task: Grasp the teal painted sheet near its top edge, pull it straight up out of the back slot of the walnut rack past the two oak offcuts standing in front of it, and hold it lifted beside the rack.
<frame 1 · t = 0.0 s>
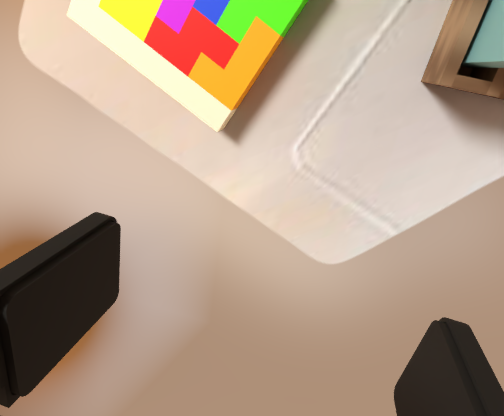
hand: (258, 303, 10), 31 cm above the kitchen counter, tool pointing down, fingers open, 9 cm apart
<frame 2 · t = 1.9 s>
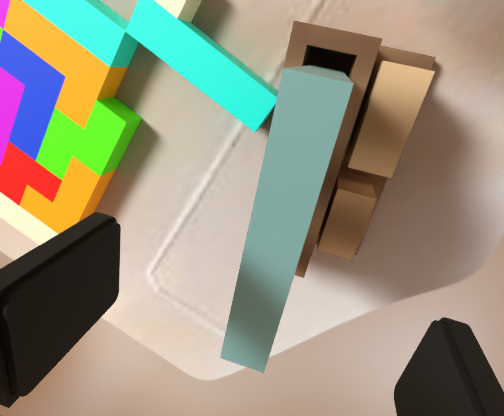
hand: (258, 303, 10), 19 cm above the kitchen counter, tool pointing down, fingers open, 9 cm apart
offcut short: (343, 201, 27), point 1 cm above the kitchen counter, touching rack
puzzle game: (80, 103, 31), on the kitchen counter
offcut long: (376, 109, 24), point 1 cm above the kitchen counter, touching rack
rack: (332, 152, 27), on the kitchen counter
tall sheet: (306, 148, 26), point 1 cm above the kitchen counter, touching rack
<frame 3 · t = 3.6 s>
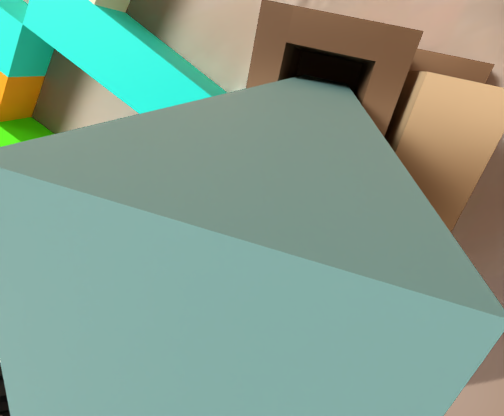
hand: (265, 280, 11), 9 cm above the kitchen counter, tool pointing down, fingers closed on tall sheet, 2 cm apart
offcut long: (397, 142, 16), point 1 cm above the kitchen counter, touching rack
rack: (331, 198, 19), on the kitchen counter
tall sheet: (293, 194, 18), point 1 cm above the kitchen counter, touching gripper
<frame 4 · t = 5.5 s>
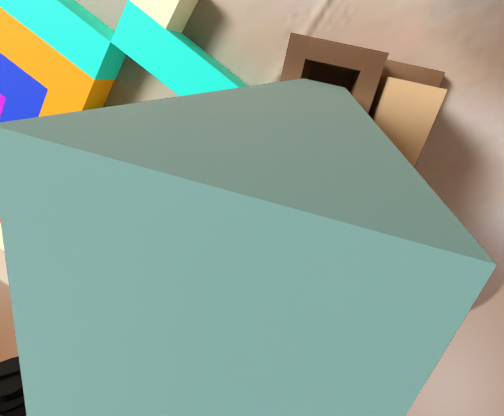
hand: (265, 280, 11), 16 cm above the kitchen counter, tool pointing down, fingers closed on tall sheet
puzzle game: (66, 116, 29), on the kitchen counter
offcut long: (380, 127, 22), point 1 cm above the kitchen counter, touching rack
rack: (333, 171, 25), on the kitchen counter
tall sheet: (293, 197, 18), point 8 cm above the kitchen counter, touching gripper
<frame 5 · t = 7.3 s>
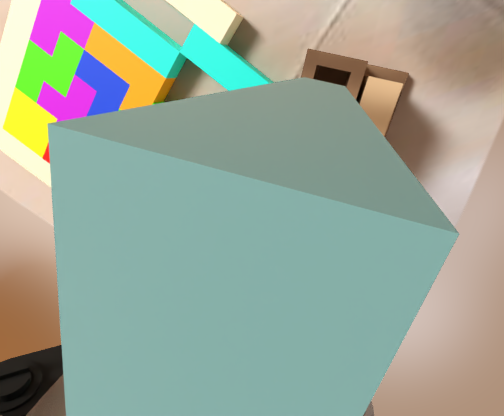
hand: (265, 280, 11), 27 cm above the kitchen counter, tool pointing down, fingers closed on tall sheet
puzzle game: (134, 105, 39), on the kitchen counter
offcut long: (366, 111, 32), point 1 cm above the kitchen counter, touching rack
rack: (333, 143, 35), on the kitchen counter
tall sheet: (294, 194, 18), point 18 cm above the kitchen counter, touching gripper
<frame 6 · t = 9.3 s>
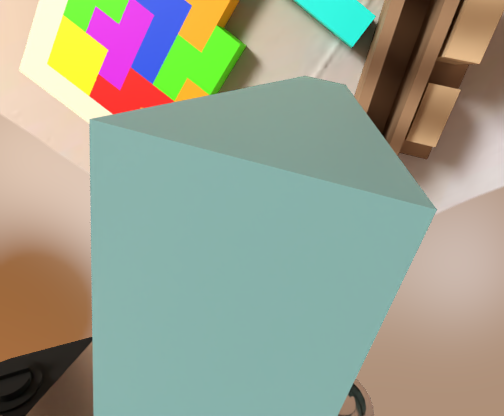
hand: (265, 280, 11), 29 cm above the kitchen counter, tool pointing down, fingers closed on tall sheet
offcut short: (420, 110, 33), point 1 cm above the kitchen counter, touching rack
puzzle game: (190, 36, 37), on the kitchen counter
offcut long: (454, 25, 30), point 1 cm above the kitchen counter, touching rack
rack: (411, 68, 33), on the kitchen counter
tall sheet: (295, 191, 19), point 20 cm above the kitchen counter, touching gripper
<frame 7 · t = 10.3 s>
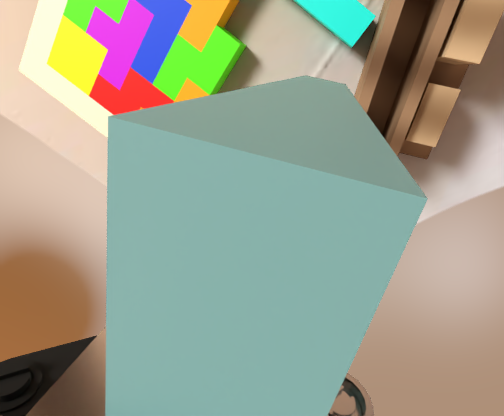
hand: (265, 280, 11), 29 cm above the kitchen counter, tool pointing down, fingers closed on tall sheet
offcut short: (420, 110, 33), point 1 cm above the kitchen counter, touching rack
puzzle game: (190, 36, 37), on the kitchen counter
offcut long: (454, 25, 30), point 1 cm above the kitchen counter, touching rack
rack: (411, 68, 33), on the kitchen counter
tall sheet: (295, 190, 19), point 20 cm above the kitchen counter, touching gripper
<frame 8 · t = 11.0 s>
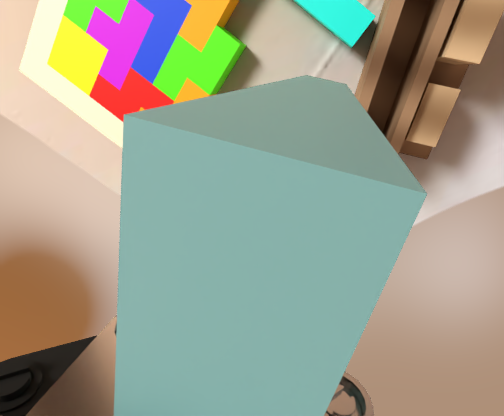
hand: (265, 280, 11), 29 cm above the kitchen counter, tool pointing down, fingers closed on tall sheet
offcut short: (420, 110, 33), point 1 cm above the kitchen counter, touching rack
puzzle game: (190, 36, 37), on the kitchen counter
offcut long: (454, 25, 30), point 1 cm above the kitchen counter, touching rack
rack: (411, 68, 33), on the kitchen counter
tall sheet: (295, 189, 19), point 20 cm above the kitchen counter, touching gripper
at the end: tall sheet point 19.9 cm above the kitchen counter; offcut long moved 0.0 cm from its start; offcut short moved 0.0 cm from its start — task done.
